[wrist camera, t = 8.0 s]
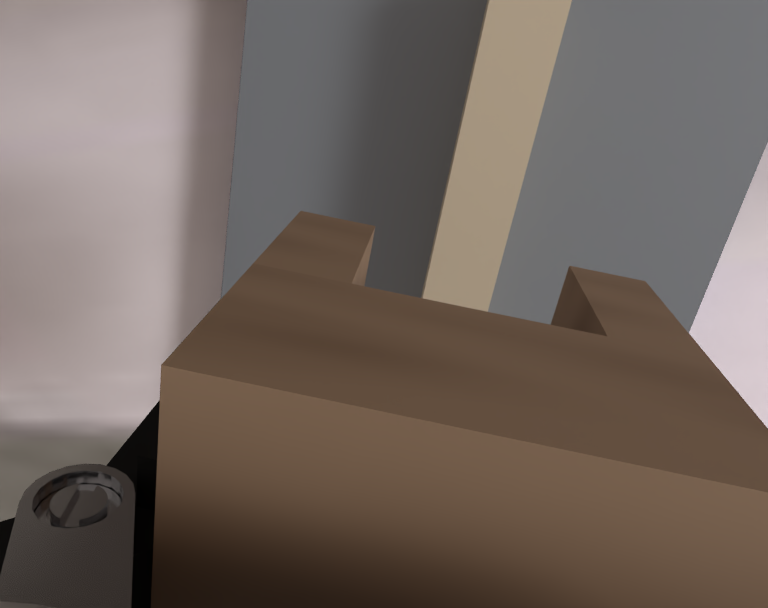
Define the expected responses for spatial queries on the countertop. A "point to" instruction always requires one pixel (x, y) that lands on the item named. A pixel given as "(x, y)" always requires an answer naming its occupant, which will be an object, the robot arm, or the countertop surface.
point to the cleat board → (585, 164)
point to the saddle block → (449, 449)
